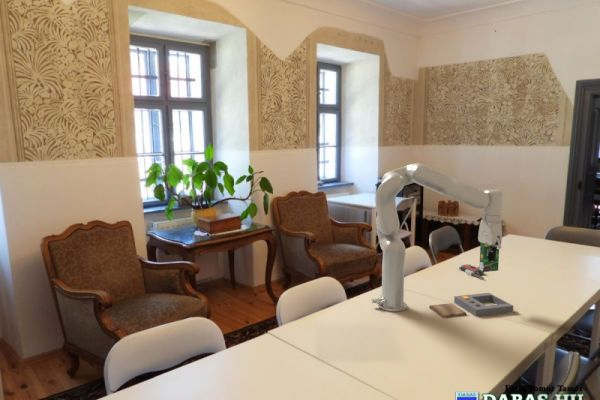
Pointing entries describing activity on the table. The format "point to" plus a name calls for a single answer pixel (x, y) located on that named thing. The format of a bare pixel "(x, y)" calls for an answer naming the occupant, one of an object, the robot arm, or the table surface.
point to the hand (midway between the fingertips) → (489, 259)
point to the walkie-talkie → (472, 270)
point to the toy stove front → (479, 309)
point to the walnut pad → (447, 310)
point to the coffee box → (484, 263)
